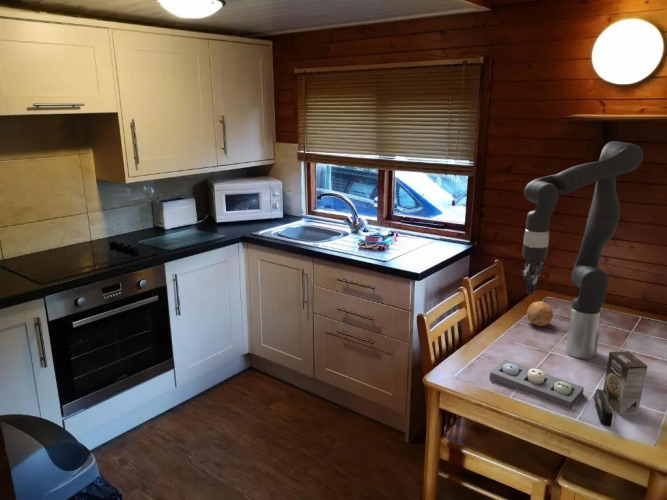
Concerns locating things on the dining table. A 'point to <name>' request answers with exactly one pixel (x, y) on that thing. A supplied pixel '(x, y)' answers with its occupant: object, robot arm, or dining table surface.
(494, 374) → the button board
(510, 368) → the blue button
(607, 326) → the dining table surface
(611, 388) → the coffee box
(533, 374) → the cream button
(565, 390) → the sage button
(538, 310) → the tan round ball
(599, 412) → the mobile phone
